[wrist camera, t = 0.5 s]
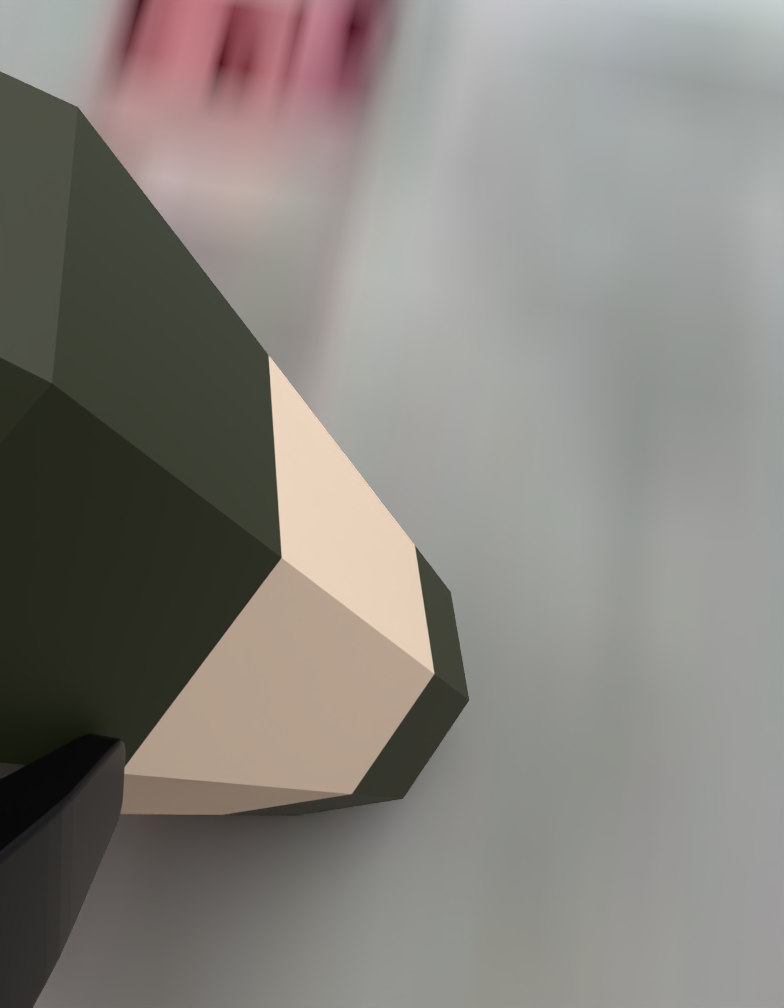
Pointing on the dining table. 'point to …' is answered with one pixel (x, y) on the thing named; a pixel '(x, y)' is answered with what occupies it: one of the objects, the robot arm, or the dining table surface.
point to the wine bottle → (186, 522)
